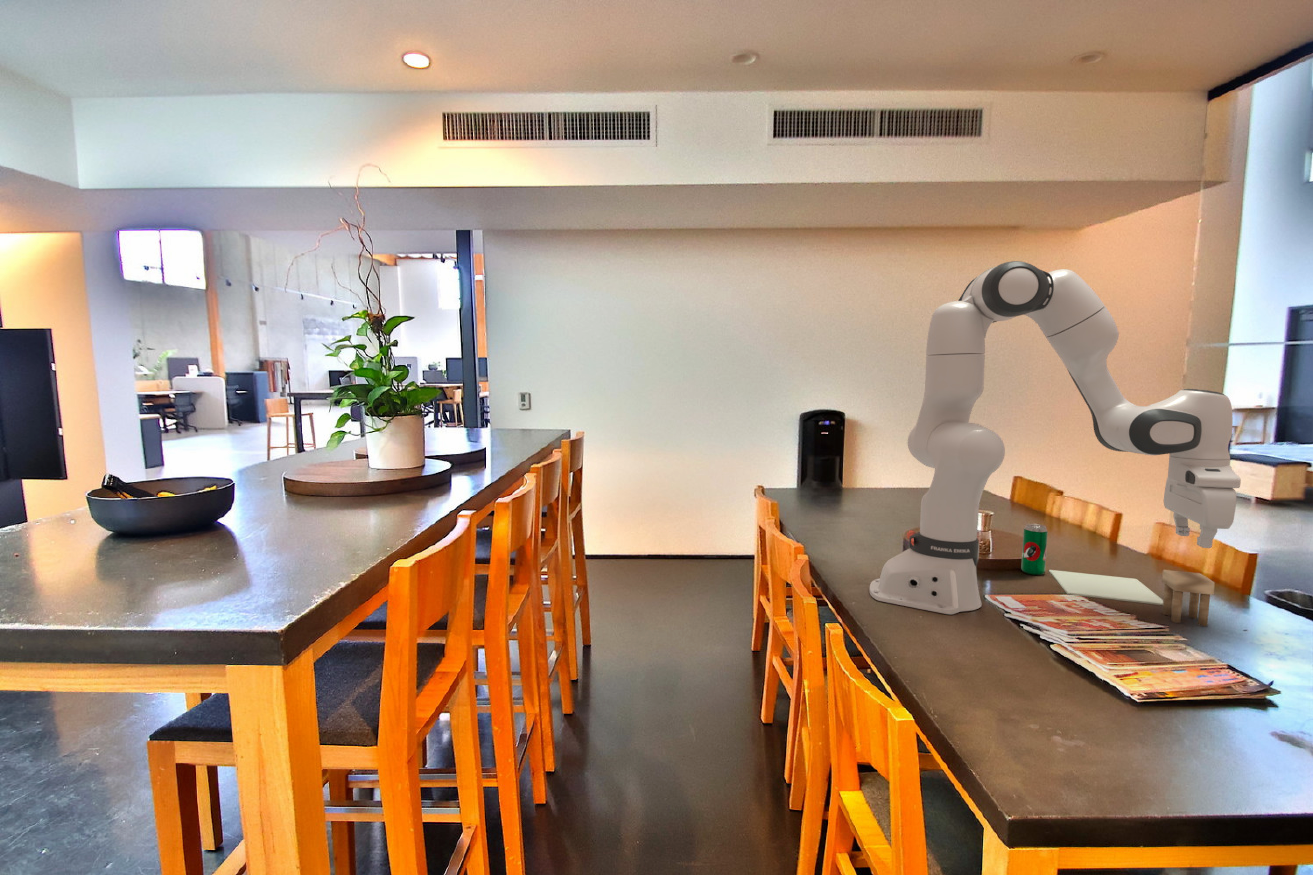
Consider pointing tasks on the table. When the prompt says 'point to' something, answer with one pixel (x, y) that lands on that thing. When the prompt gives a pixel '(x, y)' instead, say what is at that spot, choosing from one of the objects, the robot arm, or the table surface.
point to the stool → (1195, 586)
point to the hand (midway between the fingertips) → (1192, 540)
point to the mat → (1105, 587)
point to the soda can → (1034, 549)
